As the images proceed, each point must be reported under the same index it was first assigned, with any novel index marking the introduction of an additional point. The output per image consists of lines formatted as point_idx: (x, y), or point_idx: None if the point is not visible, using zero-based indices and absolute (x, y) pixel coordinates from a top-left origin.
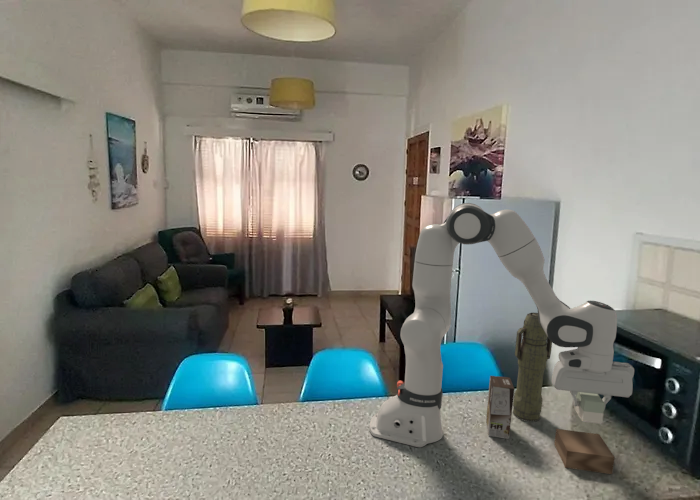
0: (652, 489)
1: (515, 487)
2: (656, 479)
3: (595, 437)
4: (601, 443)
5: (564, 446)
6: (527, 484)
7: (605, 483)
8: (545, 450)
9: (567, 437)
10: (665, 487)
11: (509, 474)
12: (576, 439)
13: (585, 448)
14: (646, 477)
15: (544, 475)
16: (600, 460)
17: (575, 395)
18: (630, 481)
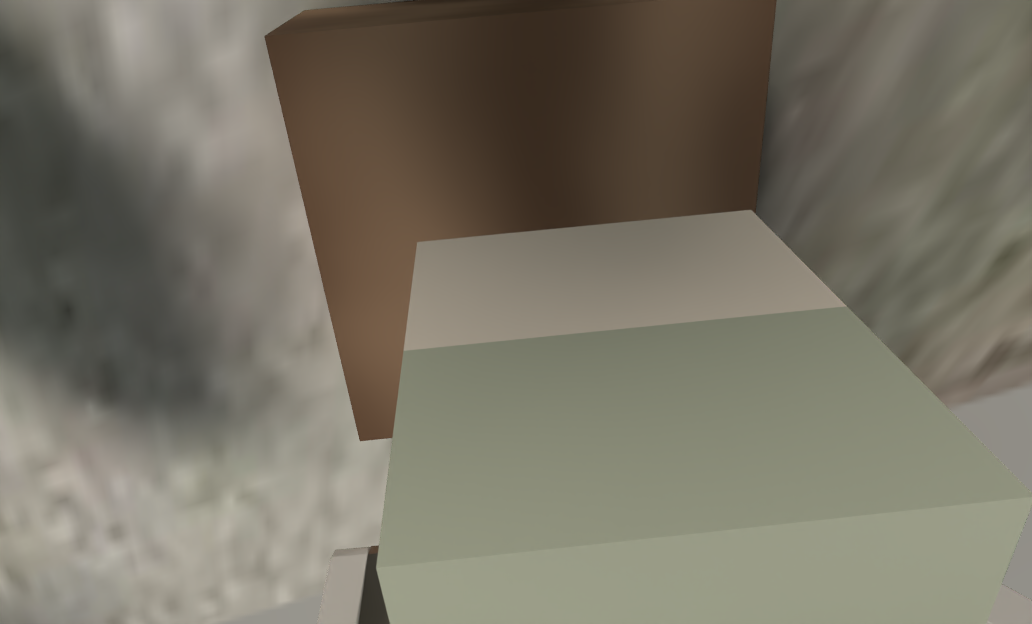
0: None
1: (90, 616)
2: (981, 278)
3: (697, 99)
4: (714, 211)
5: (344, 363)
6: (148, 577)
7: None
8: (226, 161)
9: (384, 210)
10: (980, 347)
11: (27, 534)
12: (473, 220)
13: None
14: (923, 277)
15: (237, 476)
16: None
17: (398, 393)
18: None
